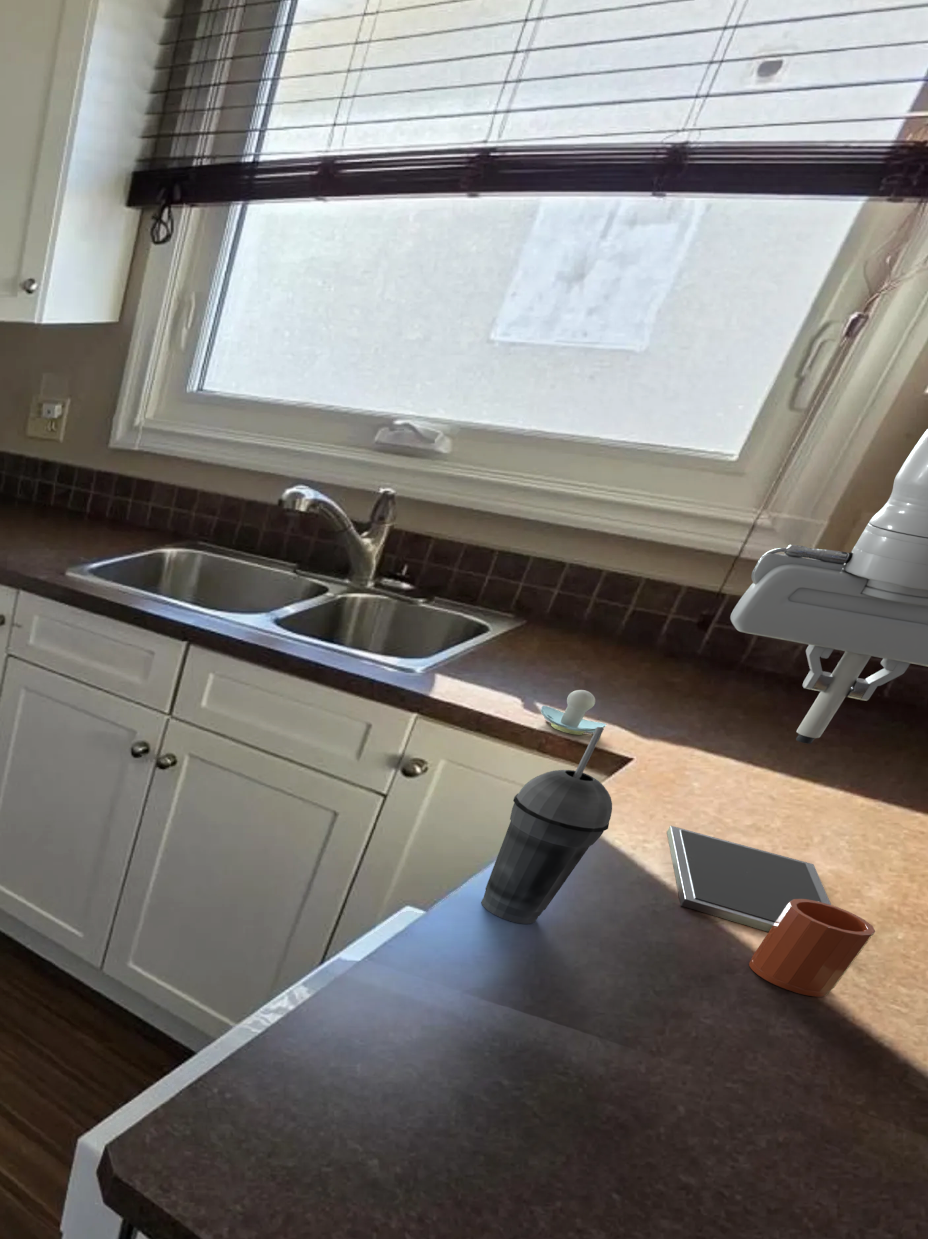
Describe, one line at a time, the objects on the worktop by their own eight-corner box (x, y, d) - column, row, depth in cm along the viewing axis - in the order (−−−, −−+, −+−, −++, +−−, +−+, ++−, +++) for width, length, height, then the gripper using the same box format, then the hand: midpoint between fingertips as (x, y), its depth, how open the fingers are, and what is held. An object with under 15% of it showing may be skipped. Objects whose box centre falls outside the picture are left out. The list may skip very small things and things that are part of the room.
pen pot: (823, 976, 95) (867, 915, 91) (834, 1005, 91) (881, 942, 88) (745, 951, 97) (785, 891, 94) (752, 979, 94) (794, 917, 90)
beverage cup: (466, 914, 101) (556, 734, 92) (463, 881, 106) (549, 708, 97) (557, 941, 97) (661, 757, 88) (549, 906, 103) (647, 729, 94)
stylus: (813, 741, 108) (893, 615, 101) (816, 746, 106) (897, 619, 100) (790, 736, 108) (867, 611, 102) (793, 741, 107) (871, 615, 101)
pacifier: (543, 716, 149) (530, 723, 145) (563, 676, 146) (550, 683, 143) (606, 735, 143) (593, 743, 140) (627, 694, 141) (615, 701, 137)
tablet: (809, 870, 112) (814, 863, 111) (844, 955, 98) (850, 947, 97) (666, 831, 118) (670, 824, 118) (680, 905, 104) (685, 897, 104)
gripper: (773, 546, 102) (702, 673, 108) (1086, 593, 91) (987, 732, 97) (765, 535, 106) (697, 658, 113) (1062, 579, 95) (969, 712, 102)
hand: (834, 693), depth 105 cm, fingers closed on stylus, 2 cm apart
